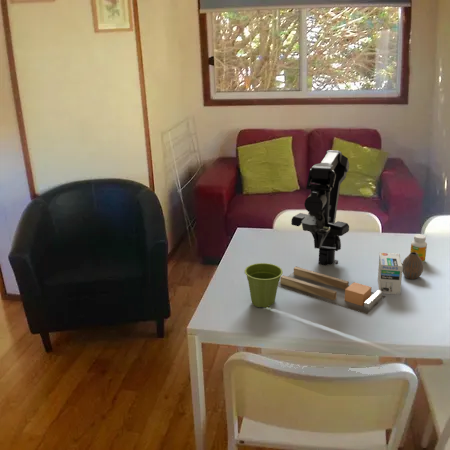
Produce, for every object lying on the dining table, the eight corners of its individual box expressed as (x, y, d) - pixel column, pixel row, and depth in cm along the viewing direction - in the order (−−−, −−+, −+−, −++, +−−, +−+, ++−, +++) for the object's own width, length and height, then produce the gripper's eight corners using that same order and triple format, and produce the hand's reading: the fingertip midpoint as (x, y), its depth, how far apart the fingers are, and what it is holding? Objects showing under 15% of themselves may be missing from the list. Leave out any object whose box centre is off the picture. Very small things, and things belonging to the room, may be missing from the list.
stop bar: (377, 296, 171) (377, 289, 170) (381, 298, 170) (382, 291, 169) (363, 309, 164) (364, 302, 163) (368, 311, 163) (368, 303, 162)
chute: (296, 272, 191) (296, 263, 190) (385, 298, 171) (386, 289, 170) (274, 287, 180) (274, 278, 179) (366, 316, 161) (367, 307, 160)
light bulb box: (400, 297, 172) (403, 266, 168) (378, 295, 173) (381, 265, 170) (397, 282, 182) (400, 252, 178) (376, 280, 183) (379, 251, 179)
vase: (423, 274, 187) (425, 251, 184) (420, 282, 181) (423, 258, 178) (402, 270, 190) (404, 248, 187) (399, 279, 184) (401, 255, 181)
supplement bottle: (408, 262, 196) (411, 237, 193) (410, 256, 201) (412, 232, 197) (424, 264, 194) (427, 239, 191) (425, 258, 199) (428, 234, 195)
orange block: (353, 293, 173) (353, 282, 172) (370, 298, 170) (371, 287, 168) (344, 300, 169) (345, 289, 168) (362, 306, 166) (363, 294, 164)
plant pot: (271, 315, 163) (271, 282, 159) (238, 306, 169) (237, 274, 165) (288, 299, 172) (289, 267, 168) (256, 290, 178) (255, 260, 174)
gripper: (282, 205, 174) (282, 249, 180) (334, 216, 164) (332, 262, 169) (300, 196, 183) (299, 239, 188) (351, 206, 172) (348, 251, 177)
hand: (318, 247), depth 180 cm, fingers closed
